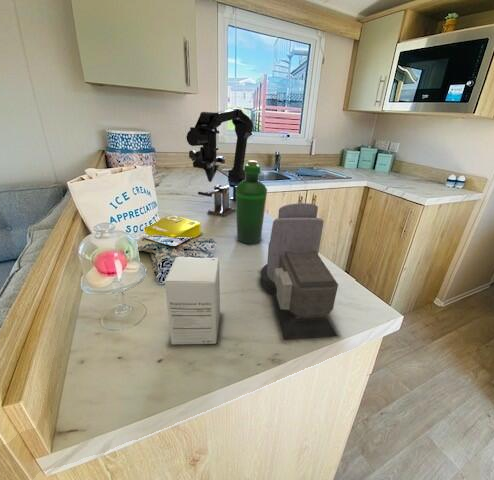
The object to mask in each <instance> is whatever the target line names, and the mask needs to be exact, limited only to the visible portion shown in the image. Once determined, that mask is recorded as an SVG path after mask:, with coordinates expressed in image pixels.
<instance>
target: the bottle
mask: <svg viewBox="0 0 494 480" xmlns="http://www.w3.org/2000/svg"><path fill="white" fill-rule="evenodd" d="M258 162H259V161H258V160H254V159H253V160H251V159H249V160H247V163H246V164H244V167H243V169H244V172H245V179H246V180H243V181H242V182H240V183H239V184H238V185H237V187H236V200H235V212H236V238H237V240H238V241H239V242H241V243H243V244H248V245H251V244H256V243H259V242H260V241H262V240H261V239H262V235H263V234H262V233H263V225H264V220H265V219H264V217H265V210H266V202H267V194H268V189H267V186H266V185H265V184H264V183H262V182H261V181H260V180H259V174H261V166H260V165H259V164H258Z"/></svg>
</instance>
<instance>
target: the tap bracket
mask: <svg viewBox="0 0 494 480" xmlns="http://www.w3.org/2000/svg"><path fill="white" fill-rule="evenodd" d="M218 187H223V188H222V194H221V193H215V194H213V197H214V199H213V200H214V201H213V202H214V207H213V208H211V209H209V210H207V213H208V214H210V215H211V214H212V215H214V216H215V215H216V216H220V217H226V216H227V215H229V214H231V213H233V212H234V211H236V207H232V206H230V186H229V185H226V186H222V184H217V185H214V187H213V191H214V190H218Z"/></svg>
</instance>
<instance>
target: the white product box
mask: <svg viewBox="0 0 494 480" xmlns="http://www.w3.org/2000/svg"><path fill="white" fill-rule="evenodd" d="M220 285H221V283H220V258H219V257H190V256H176V257H175V258H174V261H173V262H172V265H171V267H170V269H169V271H168V273H167V275H166V277H165V279H164V288H165V297H166V306H167V316H168V325H169V333H170V343H171V345H216V344H217V343H218V333H219V325H220V317H221V298H220V297H221V296H220V295H221V294H220V291H221V290H220Z"/></svg>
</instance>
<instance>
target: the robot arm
mask: <svg viewBox="0 0 494 480" xmlns="http://www.w3.org/2000/svg"><path fill="white" fill-rule="evenodd" d="M228 121H231V123H232V125H233V126H234V131H235V135H236V144H235V151H234V158H233V166H232V168H231V169H229V170H228V175H227V182H228V186H229V188H232V197H229V200H232V201H236V187H237V185H238V184H239V183H240V182H242V181H243V180H246V174H245V172H244V168H245V157H246V151H247V144H248V139H249V138H250V137H251V135H252V132H253V128H254V123H253V121H252V119H251V118H250V116H248V115H247V114H245V113H244V112H243V110H242V109H240V108H236V107H235V108H234V107H233V108H230V109H226V110H221V111H216V112H213V111H201V112H200V113H199V117H198V118H197V121H196V123H195V125H194V126H191V127H189V131H187V133H186V141H187V143H188V145H190V146H191V147H198V146H199V150H198V151H196V150H195V149H191V150H189V151H188V159H191V161H192V167H193V168H195V169H203V170H204V173H205V175H206V178H207V181H208V182H209V183H211V182H212V181H213V180H214V177H215V176H216V173H217V171H218V169H219V167H220V165H219V164H217V163H220V164H221V165H222V164H225V163H226V158H225V157H224V156H220V155H218V154H217V153H218V151H219V147H217V134H220V130H219V129H218V127H220V126H221V125H222V123H225V122H228Z"/></svg>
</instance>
